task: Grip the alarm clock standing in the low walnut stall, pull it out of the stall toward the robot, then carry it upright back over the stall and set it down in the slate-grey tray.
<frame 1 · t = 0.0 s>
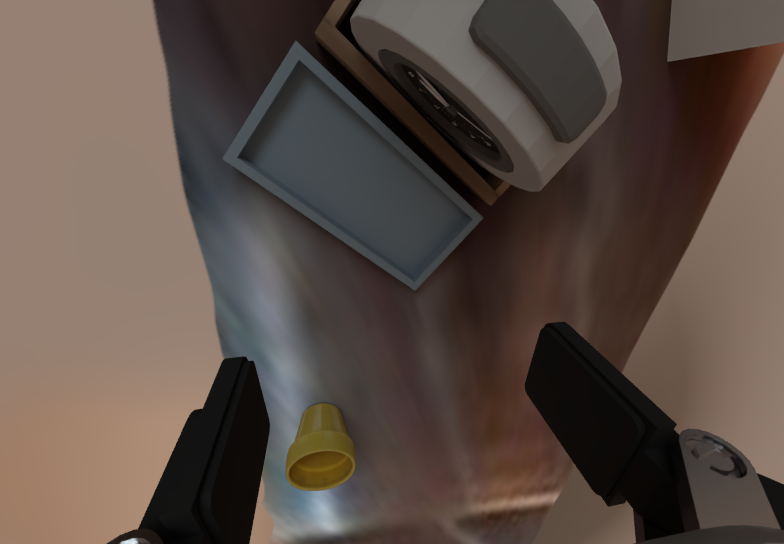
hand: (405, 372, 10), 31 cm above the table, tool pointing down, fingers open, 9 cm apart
plant pot: (322, 414, 56), on the table
alarm clock: (443, 84, 35), on the table
walnut stall: (444, 84, 35), on the table
slate tray: (365, 185, 38), on the table
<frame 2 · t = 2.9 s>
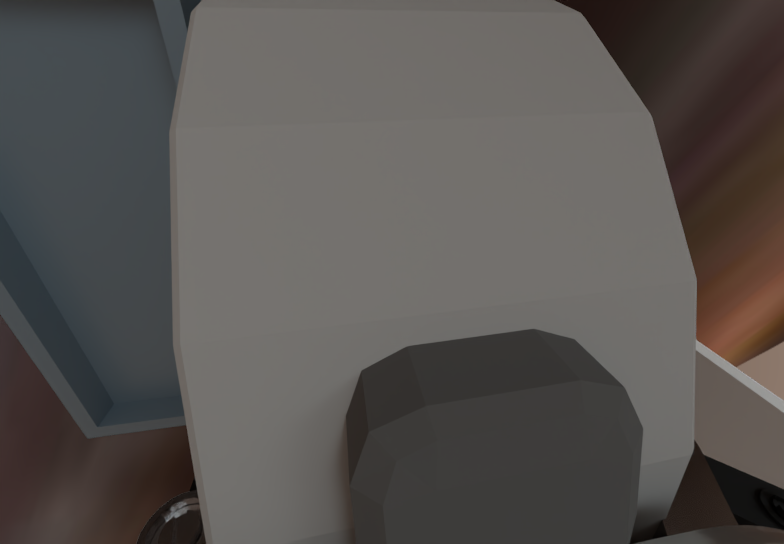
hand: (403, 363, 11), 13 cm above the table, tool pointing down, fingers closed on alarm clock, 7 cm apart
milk: (624, 362, 35), on the table
alarm clock: (365, 228, 22), on the table, touching gripper
slate tray: (141, 241, 20), on the table
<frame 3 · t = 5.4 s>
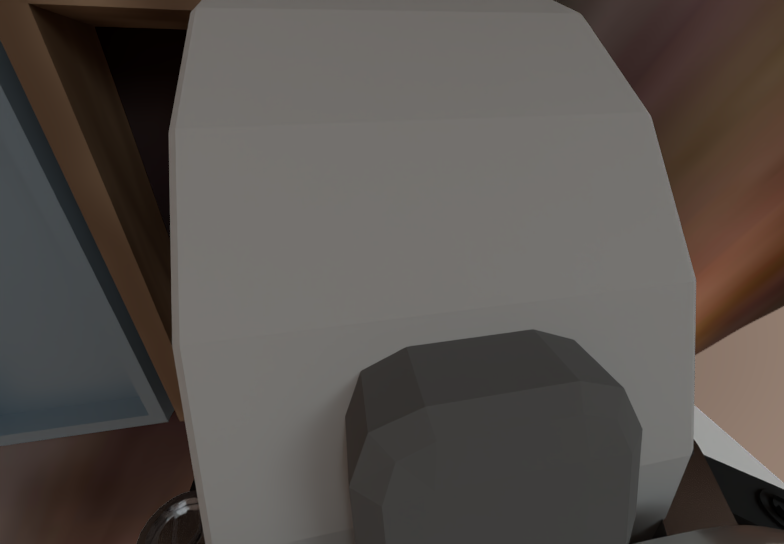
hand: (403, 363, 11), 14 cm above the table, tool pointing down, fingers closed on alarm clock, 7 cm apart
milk: (549, 365, 34), on the table
alarm clock: (364, 228, 22), point 1 cm above the table, touching gripper
walnut stall: (241, 236, 22), on the table
slate tray: (2, 251, 20), on the table
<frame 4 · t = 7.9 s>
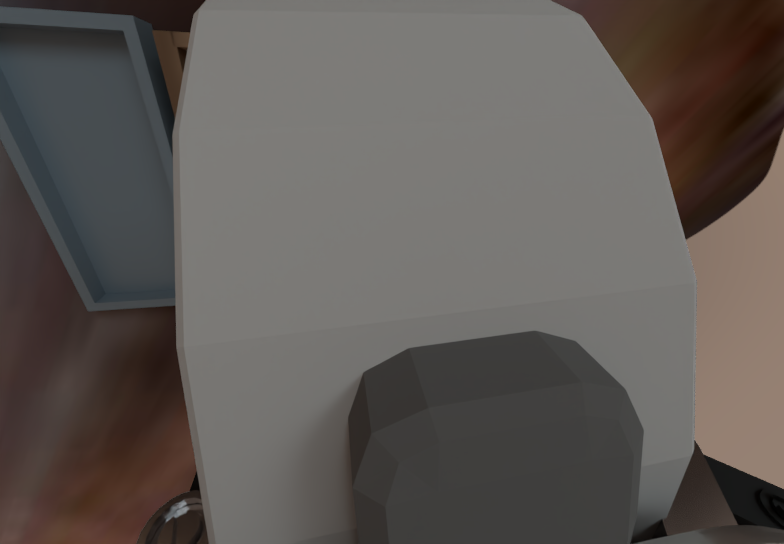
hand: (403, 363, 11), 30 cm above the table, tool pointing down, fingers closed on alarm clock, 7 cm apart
alarm clock: (365, 228, 22), point 17 cm above the table, touching gripper
walnut stall: (266, 181, 35), on the table
slate tray: (124, 182, 33), on the table
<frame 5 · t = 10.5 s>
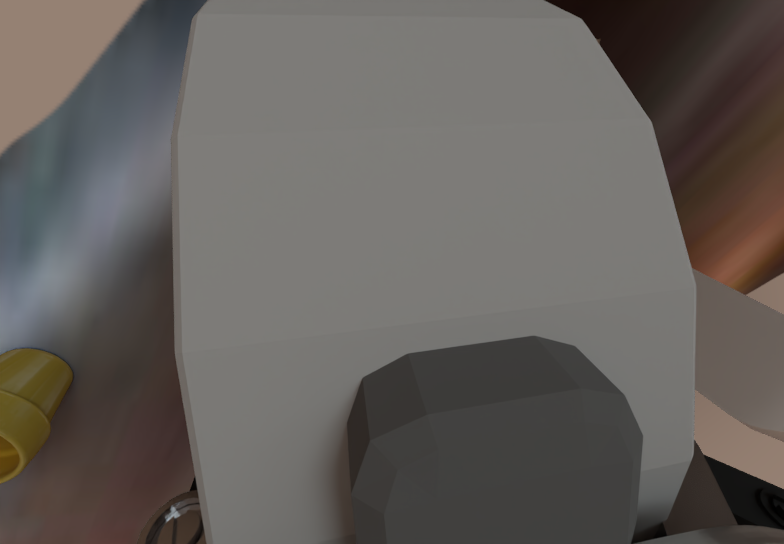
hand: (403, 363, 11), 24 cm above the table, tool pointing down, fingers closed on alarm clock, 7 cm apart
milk: (644, 295, 47), on the table
plant pot: (39, 369, 35), on the table
alarm clock: (365, 229, 22), point 11 cm above the table, touching gripper
when the fingers open (15 cm above the table, at t = 12.8 s): alarm clock stays where it is, resting on slate tray.
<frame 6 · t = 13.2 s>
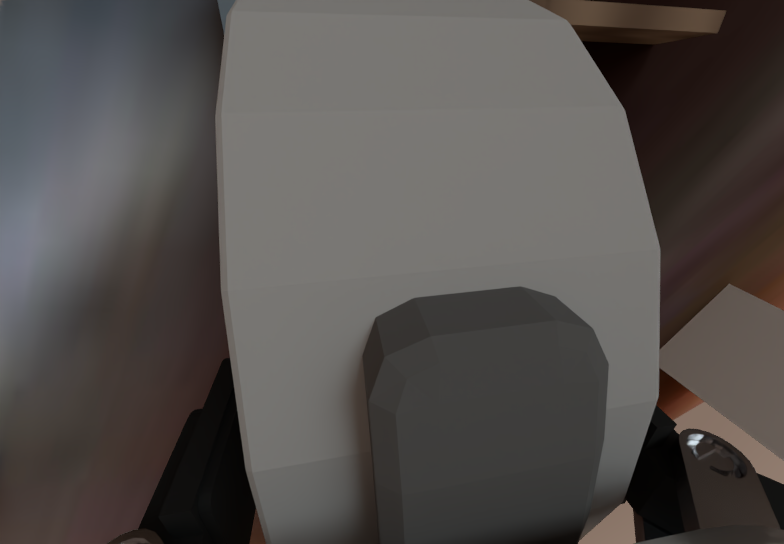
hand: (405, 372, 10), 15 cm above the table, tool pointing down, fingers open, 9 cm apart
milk: (710, 337, 38), on the table
alarm clock: (366, 222, 23), point 1 cm above the table, touching slate tray
walnut stall: (533, 212, 26), on the table
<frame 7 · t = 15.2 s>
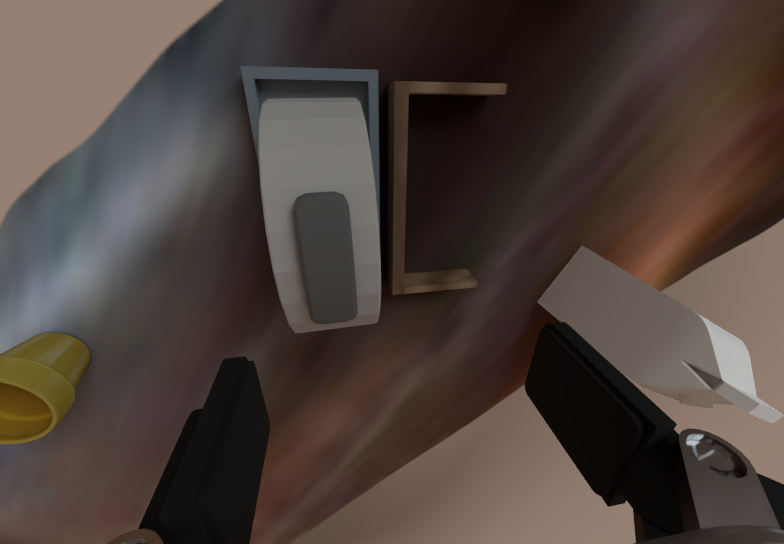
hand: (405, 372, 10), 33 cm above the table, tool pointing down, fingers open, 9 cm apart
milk: (580, 286, 54), on the table
plant pot: (62, 351, 42), on the table
alarm clock: (326, 199, 39), point 1 cm above the table, touching slate tray
walnut stall: (432, 194, 42), on the table
slate tray: (324, 198, 39), on the table
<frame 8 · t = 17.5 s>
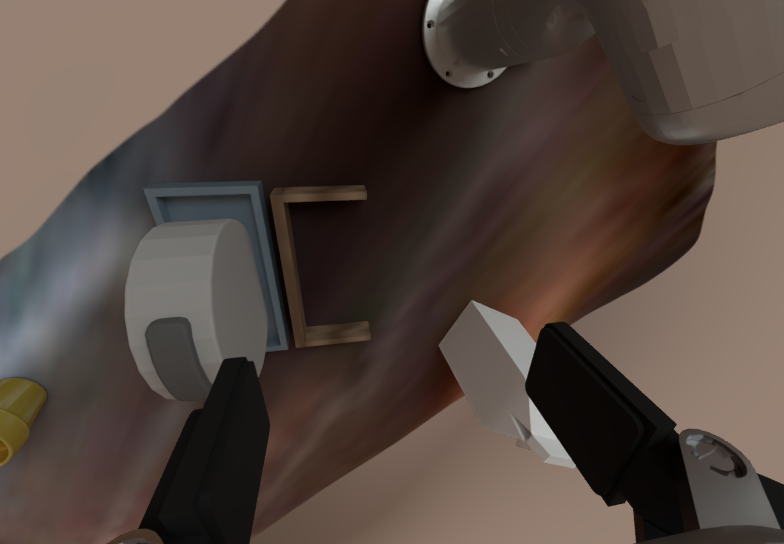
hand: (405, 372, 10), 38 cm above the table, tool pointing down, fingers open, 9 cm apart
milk: (477, 331, 63), on the table
plant pot: (23, 391, 51), on the table
alarm clock: (233, 274, 47), point 1 cm above the table, touching slate tray
walnut stall: (326, 266, 50), on the table
slate tray: (232, 272, 48), on the table
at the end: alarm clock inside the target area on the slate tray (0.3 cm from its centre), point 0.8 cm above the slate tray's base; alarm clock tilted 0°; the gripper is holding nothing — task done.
